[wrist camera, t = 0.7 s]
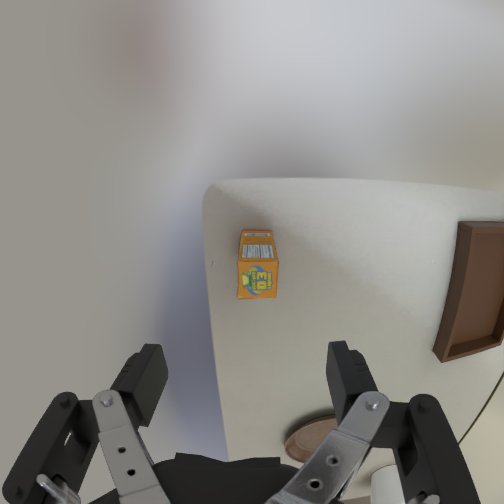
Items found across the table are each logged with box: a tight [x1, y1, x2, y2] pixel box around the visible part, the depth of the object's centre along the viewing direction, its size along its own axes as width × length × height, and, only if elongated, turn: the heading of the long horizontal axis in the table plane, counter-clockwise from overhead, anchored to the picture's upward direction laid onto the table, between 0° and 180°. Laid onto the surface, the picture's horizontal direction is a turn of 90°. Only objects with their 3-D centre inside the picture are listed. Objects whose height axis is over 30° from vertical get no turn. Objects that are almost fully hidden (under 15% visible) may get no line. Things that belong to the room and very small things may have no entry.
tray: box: [433, 221, 504, 363], centre depth 30 cm, size 20×14×3 cm
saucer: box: [285, 415, 338, 463], centre depth 40 cm, size 15×15×3 cm
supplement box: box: [237, 230, 279, 300], centre depth 26 cm, size 3×3×10 cm
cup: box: [370, 465, 405, 504], centre depth 41 cm, size 12×12×12 cm
